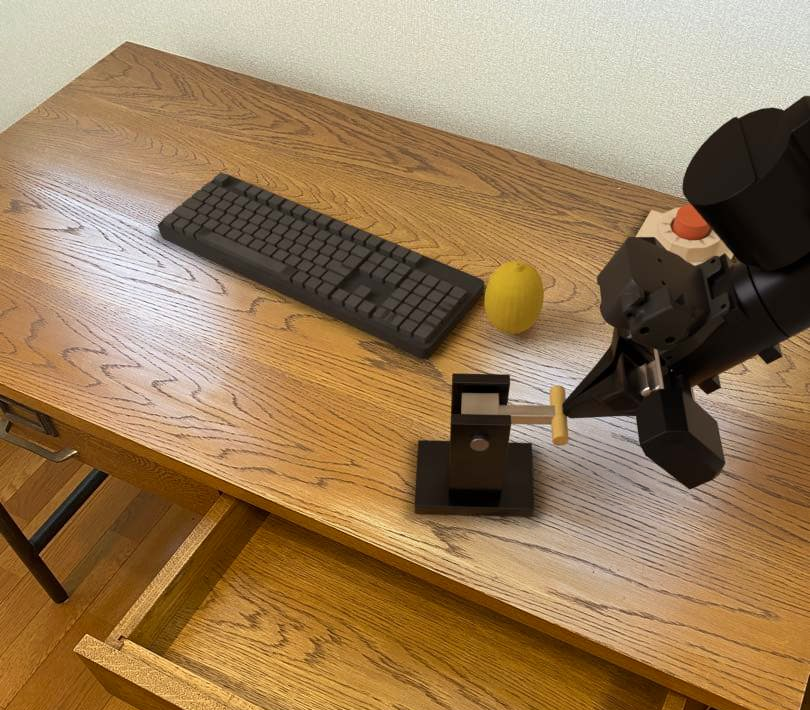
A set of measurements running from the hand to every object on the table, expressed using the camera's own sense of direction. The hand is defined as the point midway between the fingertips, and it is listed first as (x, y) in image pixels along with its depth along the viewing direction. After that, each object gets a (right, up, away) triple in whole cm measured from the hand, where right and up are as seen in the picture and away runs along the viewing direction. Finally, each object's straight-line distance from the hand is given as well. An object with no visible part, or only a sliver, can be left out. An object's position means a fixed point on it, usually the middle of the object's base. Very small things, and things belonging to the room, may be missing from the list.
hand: (565, 411), depth 56 cm
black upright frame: (-6, -5, +8) cm, 11 cm away
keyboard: (-22, +20, +24) cm, 38 cm away
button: (+18, +23, +21) cm, 36 cm away
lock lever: (-4, -1, +2) cm, 4 cm away
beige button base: (+18, +21, +23) cm, 36 cm away
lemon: (-2, +11, +18) cm, 21 cm away
